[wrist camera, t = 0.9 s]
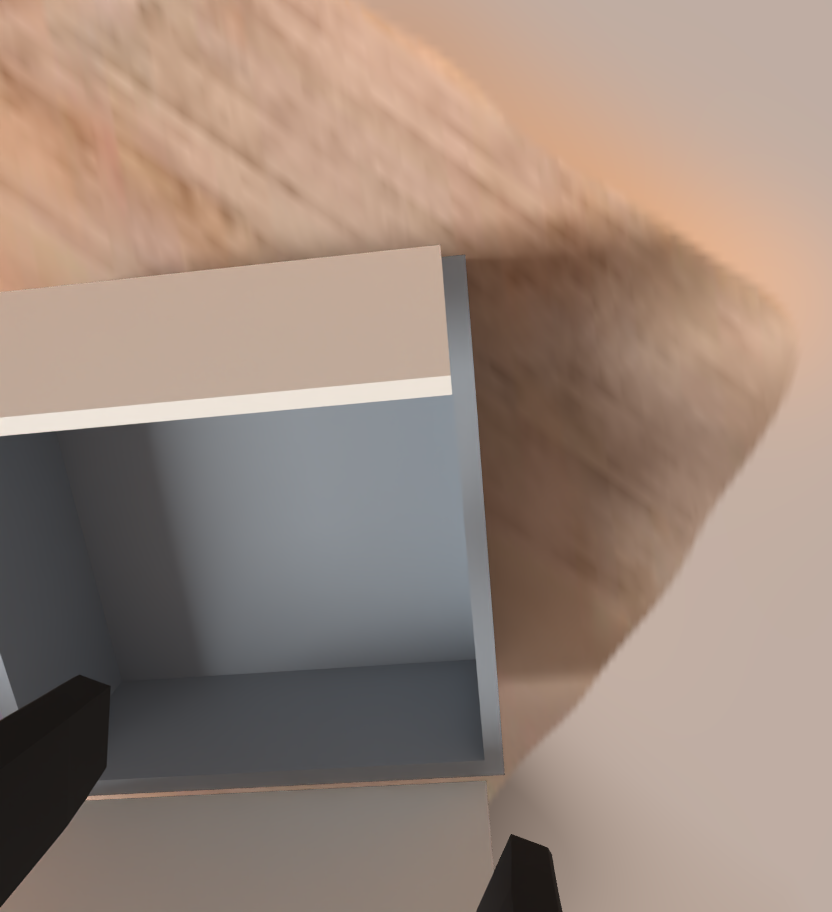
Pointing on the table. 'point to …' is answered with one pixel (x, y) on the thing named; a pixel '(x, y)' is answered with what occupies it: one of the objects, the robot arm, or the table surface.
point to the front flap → (225, 342)
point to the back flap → (271, 853)
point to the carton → (263, 588)
